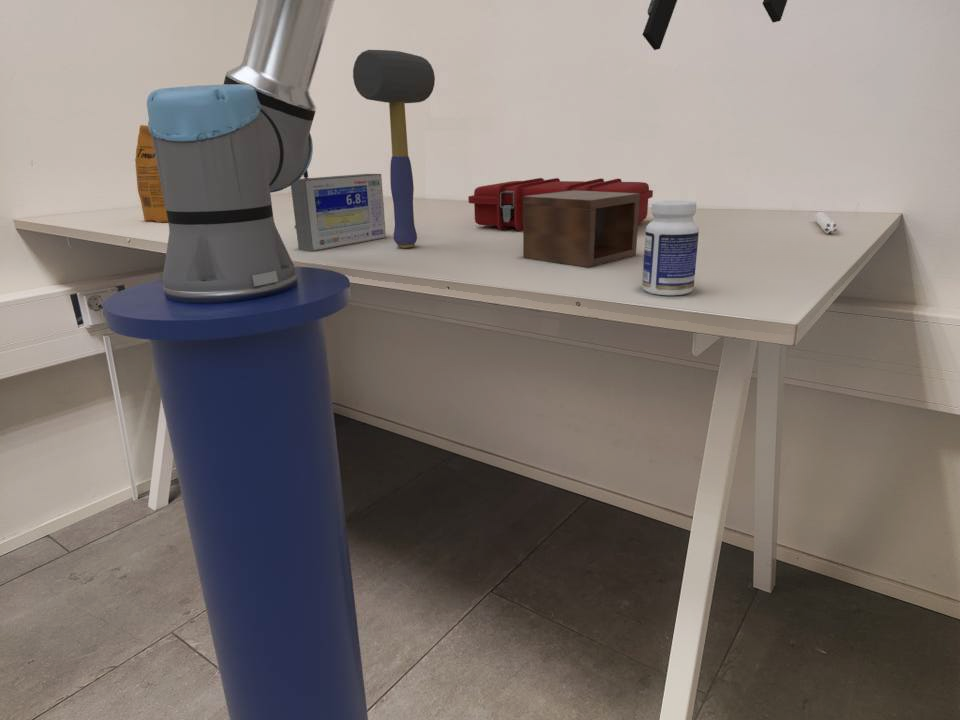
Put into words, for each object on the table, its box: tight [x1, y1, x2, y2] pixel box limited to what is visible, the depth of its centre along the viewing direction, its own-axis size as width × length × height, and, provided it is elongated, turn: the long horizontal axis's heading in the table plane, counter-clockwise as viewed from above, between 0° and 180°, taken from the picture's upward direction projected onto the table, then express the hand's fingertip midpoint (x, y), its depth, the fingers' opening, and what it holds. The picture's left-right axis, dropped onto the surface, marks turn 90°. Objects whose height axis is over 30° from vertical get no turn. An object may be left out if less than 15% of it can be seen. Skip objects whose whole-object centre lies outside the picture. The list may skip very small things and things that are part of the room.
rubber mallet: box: [352, 49, 436, 249], centre depth 100 cm, size 12×8×30 cm, turn 145°
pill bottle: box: [641, 200, 700, 296], centre depth 70 cm, size 6×6×10 cm
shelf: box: [522, 190, 640, 268], centre depth 91 cm, size 12×12×9 cm
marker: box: [814, 211, 838, 235], centre depth 113 cm, size 18×2×2 cm, turn 158°
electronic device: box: [290, 170, 387, 252], centre depth 108 cm, size 17×7×20 cm, turn 143°
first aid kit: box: [467, 177, 654, 232], centre depth 125 cm, size 32×23×9 cm
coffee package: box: [134, 124, 168, 223], centre depth 148 cm, size 10×12×22 cm
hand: (706, 28), depth 65 cm, fingers open, 13 cm apart
